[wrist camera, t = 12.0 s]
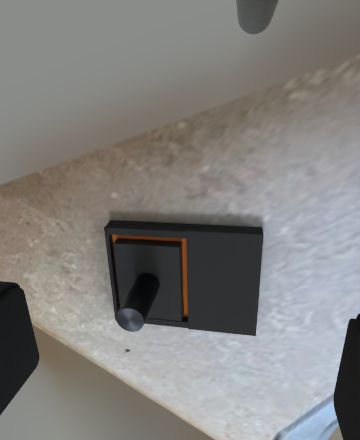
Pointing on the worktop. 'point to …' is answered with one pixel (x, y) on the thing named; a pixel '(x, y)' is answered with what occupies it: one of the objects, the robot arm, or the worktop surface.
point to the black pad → (152, 263)
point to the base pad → (204, 272)
